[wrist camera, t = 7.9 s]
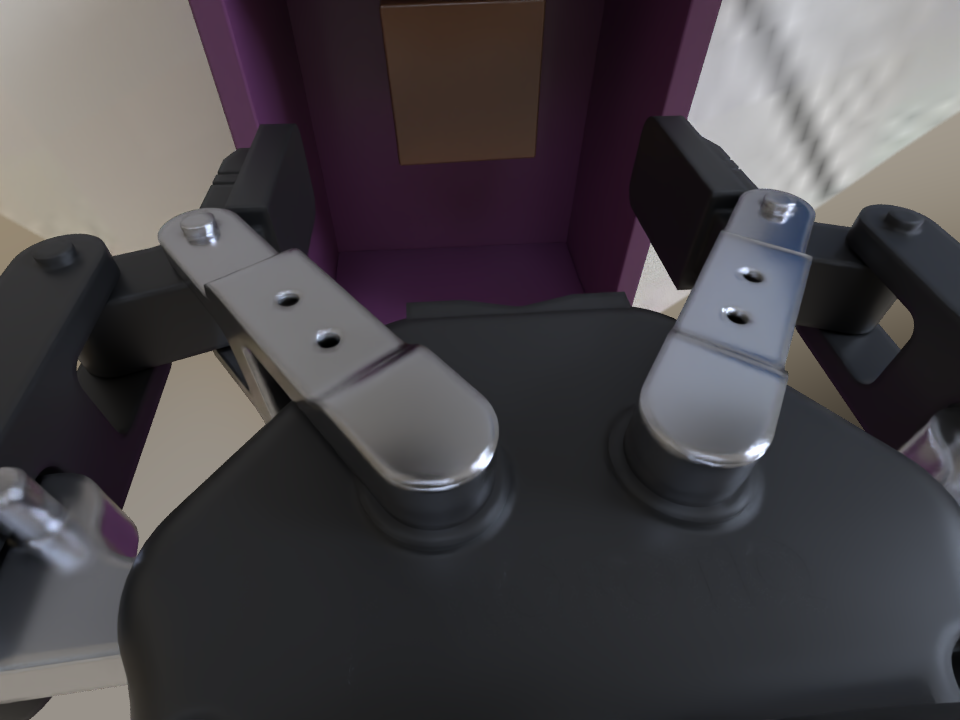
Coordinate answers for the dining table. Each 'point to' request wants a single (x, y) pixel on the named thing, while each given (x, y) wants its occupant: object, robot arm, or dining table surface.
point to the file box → (463, 185)
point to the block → (463, 78)
